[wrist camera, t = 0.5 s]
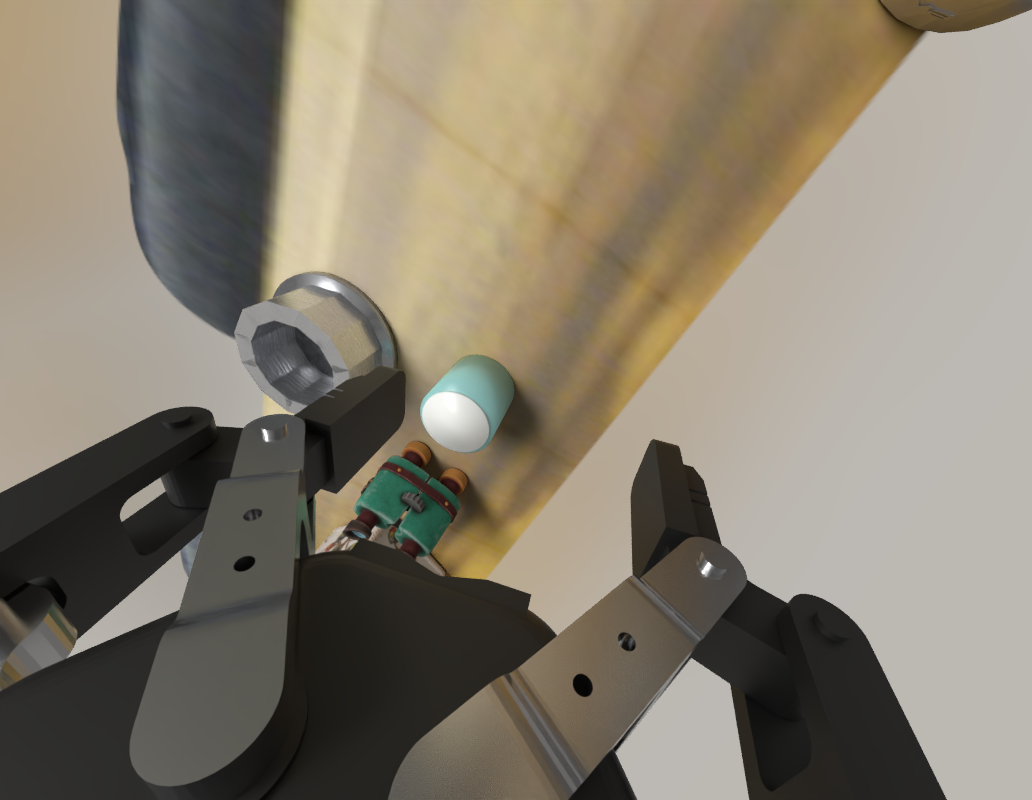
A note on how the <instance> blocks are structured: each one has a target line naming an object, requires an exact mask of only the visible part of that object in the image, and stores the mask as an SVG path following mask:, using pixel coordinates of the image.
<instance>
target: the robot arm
mask: <svg viewBox="0 0 1032 800" xmlns="http://www.w3.org/2000/svg"><path fill="white" fill-rule="evenodd" d="M881 2H882V3H883V5H884V6H885V7H886V8H887V9H888V10H889V11H890V12H891V13H892V14H893V15H894V16H895V17H896V18H897V19H899V20H900V21H902V22H904V23H906V24H908V25H910V26H912V27H914V28H916V29H921V30H927V31H933V32H938V33H945V32H957V31H968V30H972V29H975V28H979V27H983V26H986V25H990V24H993V23H996V22H1000V21H1003V20H1005V19H1008V18H1011V17H1013V16H1016V15H1018V14H1021V13H1023V12H1026V11H1029V10H1031V9H1032V0H881ZM405 382H406V378H405V373H404V372H403V371H401V370H398V369H394V368H390V367H386V366H383V365H380V366H378V367H376V368H375V369H373V370H372V371H371V372H369V373H368V374H366V375H365V376H363V375H361V376H358V377H354V378H351V379H348V380H346V381H344V382H343V383H341V384H340V385H338V386H337V387H335V389H332V390H331V391H329V392H328V393H326V395H325V396H322V397H320V398H319V399H317V400H316V401H314V402H313V403H311V404H310V405H308V406H307V407H305V408H304V409H303V410H301V411H300V412H298V413H297V414H295V415H294V416H293V415H288V414H274V415H268V416H264V417H260V418H258V419H256V420H253V421H252V422H250V423H248V424H247V425H246V426H245V427H244V428H234V427H219V426H216V424H215V421H214V417H213V415H212V413H211V412H210V411H209V410H207V409H204V408H200V407H179V408H173V409H168V410H165V411H162V412H159V413H156V414H154V415H152V416H150V417H148V418H146V419H145V420H142V421H140V422H138V423H136V424H134V425H133V426H131V427H129V428H127V429H125V430H123V431H121V432H119V433H117V434H115V435H113V436H111V437H109V438H107V439H105V440H103V441H101V442H99V443H97V444H95V445H94V446H92V447H89V448H87V449H86V450H84V451H82V452H80V453H78V454H76V455H74V456H72V457H70V458H68V459H66V460H64V461H62V462H60V463H58V464H56V465H54V466H52V467H50V468H48V469H46V470H45V471H43V472H40V473H39V474H37V475H35V476H33V477H31V478H29V479H27V480H25V481H23V482H21V483H19V484H17V485H15V486H13V487H11V488H9V489H7V490H5V491H3V492H1V493H0V800H637V798H636V796H635V794H634V792H633V790H632V788H631V785H630V783H629V781H628V779H627V777H626V775H625V772H624V770H623V768H622V766H621V764H620V762H619V759H618V757H617V755H616V752H617V751H618V749H619V748H620V747H621V746H622V744H623V743H624V742H625V741H626V739H627V738H628V737H629V736H630V734H631V733H632V732H633V730H634V729H635V728H636V727H637V725H638V724H639V723H640V722H641V720H642V719H643V718H644V716H645V715H646V714H647V713H648V711H649V710H650V709H651V708H652V706H653V705H654V704H655V703H656V701H657V700H658V699H659V698H660V696H661V695H662V694H663V693H664V691H665V690H666V689H667V688H668V686H669V685H670V684H671V683H672V681H673V680H674V679H675V678H676V676H677V675H678V674H679V673H680V671H681V670H682V669H683V668H684V667H685V665H686V664H687V663H688V661H689V660H690V659H691V658H693V659H694V660H696V661H697V662H699V663H700V664H702V665H703V666H704V667H706V668H708V669H709V670H710V671H712V672H713V673H715V674H716V675H718V676H720V677H721V678H722V679H724V680H726V681H727V682H729V683H730V685H731V690H732V697H733V703H734V709H735V715H736V721H737V728H738V734H739V740H740V746H741V751H742V757H743V764H744V770H745V776H746V782H747V788H748V794H749V800H947V799H946V797H945V795H944V793H943V791H942V789H941V787H940V785H939V783H938V782H937V779H936V777H935V775H934V773H933V771H932V769H931V767H930V765H929V763H928V761H927V759H926V757H925V755H924V753H923V750H922V749H921V746H920V745H919V743H918V740H917V738H916V737H915V734H914V732H913V730H912V728H911V726H910V725H909V722H908V720H907V718H906V716H905V714H904V712H903V710H902V708H901V706H900V704H899V702H898V700H897V698H896V696H895V694H894V692H893V690H892V688H891V686H890V684H889V682H888V680H887V678H886V675H885V673H884V672H883V669H882V667H881V665H880V663H879V661H878V659H877V657H876V655H875V653H874V651H873V649H872V647H871V645H870V643H869V641H868V639H867V638H866V636H865V634H864V633H863V632H862V630H861V629H860V628H859V627H858V625H857V624H856V623H855V622H854V621H853V620H852V619H851V618H850V617H849V616H848V615H846V614H845V613H844V612H843V611H841V610H840V609H839V608H837V607H836V606H834V605H833V604H831V603H830V602H827V601H826V600H824V599H822V598H819V597H816V596H813V595H809V594H799V595H796V596H794V597H793V598H792V599H791V600H790V601H789V603H786V602H784V601H782V600H781V599H779V598H777V597H775V596H773V595H772V594H770V593H768V592H766V591H764V590H763V589H761V588H759V587H757V586H756V585H754V584H752V583H751V582H750V581H748V580H747V575H746V572H745V569H744V567H743V566H742V564H741V563H740V561H739V560H738V559H737V557H735V555H734V554H733V553H731V552H730V551H729V550H728V549H727V548H725V547H724V546H722V544H721V541H720V537H719V534H718V530H717V527H716V523H715V519H714V516H713V512H712V509H711V507H710V502H709V498H708V496H707V491H706V487H705V484H704V480H703V479H702V478H701V477H700V475H699V474H698V473H697V472H696V470H695V469H694V468H693V467H691V466H687V465H684V464H683V461H682V456H681V452H680V448H679V446H677V445H673V444H669V443H666V442H662V441H659V440H655V439H653V440H651V442H650V444H649V446H648V448H647V450H646V453H645V455H644V458H643V460H642V462H641V465H640V467H639V469H638V472H637V474H636V477H635V479H634V482H633V486H632V492H631V527H632V567H633V575H632V576H630V577H629V578H627V579H626V580H625V581H623V582H622V583H621V584H620V585H619V586H617V587H616V588H615V589H614V590H612V591H611V592H610V593H609V594H608V595H606V596H605V597H604V598H603V599H601V600H600V601H599V602H598V603H597V604H595V605H594V606H593V607H592V608H591V609H589V610H588V611H587V612H586V613H584V614H583V615H582V616H581V617H580V618H578V619H577V620H576V621H575V622H573V623H572V624H571V625H570V626H569V627H567V628H566V629H565V630H564V631H563V632H561V633H560V634H559V635H558V636H557V635H556V634H555V632H554V631H553V630H552V629H551V628H550V627H549V626H548V625H547V624H546V623H545V622H544V621H543V620H542V619H540V618H539V617H538V616H536V615H535V614H534V613H533V612H531V611H530V610H528V606H529V602H530V597H531V594H528V593H525V592H522V591H519V590H516V589H513V588H510V587H507V586H504V585H501V584H498V583H495V582H492V581H489V580H483V579H471V578H459V577H448V576H440V575H437V574H435V573H433V572H432V571H430V570H429V569H427V568H426V567H424V566H423V565H421V564H420V563H418V562H417V561H415V560H414V559H412V558H411V557H409V556H408V555H406V554H405V553H403V552H402V551H400V550H397V549H394V548H391V547H388V546H385V545H382V544H379V543H376V542H373V541H370V540H367V539H364V538H360V539H359V540H358V542H357V543H356V544H355V545H354V547H353V548H352V549H351V550H335V551H327V552H321V553H317V554H315V494H316V493H317V492H318V491H319V490H320V489H323V490H326V491H329V492H332V493H335V494H337V493H338V492H339V491H340V490H341V489H342V488H343V487H344V486H345V485H346V483H347V482H348V481H349V480H350V479H351V478H352V477H353V476H354V475H355V474H356V473H357V472H358V471H359V470H360V469H361V468H362V467H363V466H364V465H365V464H366V463H367V462H368V460H369V459H370V458H371V457H372V456H373V455H374V454H375V453H376V452H377V451H378V450H379V449H380V448H381V447H382V446H383V445H384V444H385V443H386V442H387V441H388V440H389V438H390V437H391V436H392V435H393V434H394V433H395V432H396V431H397V430H398V429H399V427H400V426H401V424H402V422H403V419H404V414H405ZM158 478H161V480H162V482H163V485H164V488H165V490H166V492H164V493H163V494H162V495H160V496H159V497H157V498H156V499H154V500H153V501H152V502H150V503H149V504H147V505H146V506H144V507H143V508H142V509H140V510H139V511H137V512H136V513H134V514H133V515H132V516H130V517H129V518H127V519H126V520H125V521H123V522H121V520H120V511H121V508H122V507H123V505H124V503H125V502H126V501H127V500H128V499H129V498H130V497H131V496H133V495H134V494H136V493H137V492H139V491H140V490H142V489H143V488H145V487H146V486H148V485H149V484H151V483H152V482H154V481H155V480H157V479H158ZM200 532H202V534H201V538H200V541H199V544H198V548H197V551H196V555H195V558H194V562H193V565H192V568H191V572H190V575H189V579H188V582H187V586H186V589H185V592H184V596H183V599H182V603H181V606H180V610H178V611H176V612H174V613H171V614H169V615H166V616H164V617H162V618H160V619H157V620H155V621H153V622H150V623H148V624H145V625H143V626H141V627H139V628H136V629H134V630H132V631H129V632H127V633H124V634H122V635H120V636H118V637H115V638H113V639H111V640H108V641H106V642H104V643H101V644H99V645H97V646H94V647H92V648H90V649H87V650H85V651H83V652H80V653H78V654H76V655H73V656H71V657H69V658H67V657H68V655H69V654H70V653H71V651H72V649H73V648H74V645H75V643H76V640H77V639H78V638H80V637H81V636H82V635H83V634H84V633H85V632H87V631H88V630H89V629H90V628H91V627H92V626H93V625H94V624H96V623H97V622H98V621H99V620H100V619H102V618H103V617H104V616H105V615H106V614H107V613H108V612H109V611H111V610H112V609H113V608H114V607H115V606H116V605H118V604H119V603H120V602H121V601H122V600H123V599H125V598H126V597H127V596H128V595H129V594H130V593H131V592H132V591H134V590H135V589H136V588H137V587H138V586H139V585H140V584H142V583H143V582H144V581H145V580H146V579H147V578H149V577H150V576H151V575H152V574H153V573H154V572H155V571H157V570H158V569H159V568H160V567H161V566H162V565H164V564H165V563H166V562H167V561H168V560H169V559H171V557H173V556H174V555H175V554H176V553H177V552H179V551H180V550H181V549H182V548H183V547H184V546H186V545H187V544H188V543H189V542H190V541H191V540H192V539H194V538H195V537H196V536H197V535H198V534H199V533H200Z"/></svg>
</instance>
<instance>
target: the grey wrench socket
mask: <svg viewBox="0 0 1032 800" xmlns="http://www.w3.org/2000/svg"><path fill="white" fill-rule="evenodd" d="M234 333H235V337H236V341H237V345H238V349H239V353H240V357H241V361H242V363H243V365H244V366H245V368H246V369H247V371H248V372H249V373H250V375H251V376H252V378H253V379H254V381H255V382H256V384H257V385H258V387H259V388H260V390H261V391H263V392H264V393H265V394H266V395H268V396H269V397H270V398H271V399H273V400H274V401H275V402H276V403H278V404H279V405H280V406H281V407H283V408H284V409H285V410H286V411H288V412H291V413H294V414H297V413H298V412H300V411H301V410H303V409H304V408H305V407H307V406H308V405H310V404H311V403H313V402H314V401H316V400H317V399H319V398H320V397H322V396H325V395H326V393H328V392H329V391H331V390H332V389H335V387H337V386H338V385H340V384H341V383H343V382H344V381H346V380H348V379H351V378H354V377H358V376H361V375H363V376H365V375H366V374H368V373H369V372H371V371H372V370H373V369H375V368H376V367H378V366H380V365H383V366H386V367H390V368H394V369H397V349H396V343H395V340H394V337H393V334H392V331H391V329H390V327H389V325H388V323H387V321H386V319H385V317H384V316H383V314H382V313H381V311H380V310H379V309H378V307H377V306H376V305H375V304H374V303H373V301H372V300H371V299H370V298H369V297H368V296H367V295H366V294H365V293H363V292H362V291H361V290H360V289H358V288H357V287H356V286H354V285H353V284H351V283H350V282H348V281H346V280H344V279H342V278H340V277H338V276H335V275H332V274H329V273H324V272H315V271H314V272H306V273H302V274H299V275H296V276H293V277H291V278H289V279H287V280H285V281H284V282H283V283H282V284H281V285H280V286H279V287H278V288H277V290H276V292H275V294H274V296H273V298H272V299H269V300H267V301H264V302H261V303H259V304H256V305H253V306H251V307H248V308H245V309H243V310H242V313H241V316H240V319H239V321H238V324H237V327H236V329H235V332H234Z"/></svg>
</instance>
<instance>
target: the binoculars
mask: <svg viewBox="0 0 1032 800" xmlns="http://www.w3.org/2000/svg"><path fill="white" fill-rule="evenodd" d="M430 458H431V453H430V450H429V449H428V447H427V446H426V445H425V444H423V443H421V442H418V441H413V442H410V443H409V444H408V445H407V446H406V448H405V449H404V450H403V452H402V457H400V456H392V457H390V458H389V459H388V461H387V462H385V463H384V464H383V465H382V466H381V467H380V468H379V470H378V472H377V474H376V476H375V477H374V478H372V479H371V480H370V481H368V483H367V485H366V486H365V487H364V488H363V490H362V491H361V497H360V498H359V499H358V501H357V503H356V504H355V506H354V511H355V513H356V514H357V515H358V517H357V519H356V520H351V521H350V523H349V524H348V525H347V526H346V528H345V529H344V530H343V532H342V533H343V534H344V535H345V536H346V537H348V538H350V539H352V540H357V541H358V540H359V539H360V538H364V539H367V540H368V539H369V538H370V537H371V535H372V529H373V528H374V527H375V526H376V527H378V528H381V529H388V528H389V527H390V526H393V527H395V528H396V529H397V530H396V532H395V538H396V539H397V540H398V542H399V543H400V544H402V546H401V547H400V549H399V550H400V551H402V552H403V553H405V554H406V555H408V556H409V557H411V558H412V559H414V560H415V559H416V557H417V556H418V557H425V556H427V555H429V553H430V552H431V551H432V550H433V548H434V547H435V545H436V544H437V542H438V541H439V539H440V538H441V536H442V535H443V533H444V531H445V530H446V528H447V527H448V525H449V524H450V523H451V522H453V520H454V518H455V516H456V515H457V511H458V509H459V508H460V501H459V499H458V498H457V497H456V495H459V494H461V493H462V492H463V490H464V489H465V487H466V485H467V478H466V476H465V474H464V473H463V472H461V471H460V470H457V469H447V470H445V471H444V472H443V474H442V476H441V477H440V479H439V481H437V480H436V479H434V478H430V480H429V481H428V482H427V484H426V481H427V480H428V478H429V477H430V476H429V474H428V473H426V472H425V471H424V470H422V468H424V467H425V466H426V465H427V463H428V462H429V460H430ZM420 490H421V492H420ZM419 492H420V494H418V493H419ZM405 511H408V512H407V514H406V516H405V517H404V519H403V520H400V519H399V518H400V517H401V516H402V514H403V513H404V512H405Z"/></svg>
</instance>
